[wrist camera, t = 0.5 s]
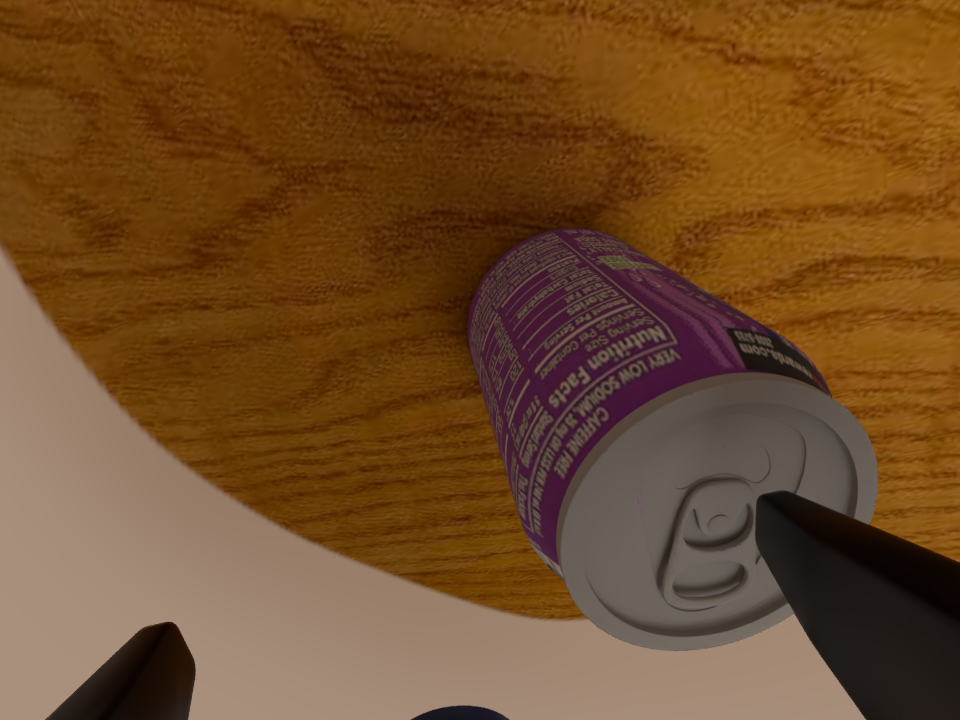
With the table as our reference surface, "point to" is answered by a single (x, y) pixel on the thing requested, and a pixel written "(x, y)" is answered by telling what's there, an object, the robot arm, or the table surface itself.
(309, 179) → the table surface
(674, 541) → the beverage can
